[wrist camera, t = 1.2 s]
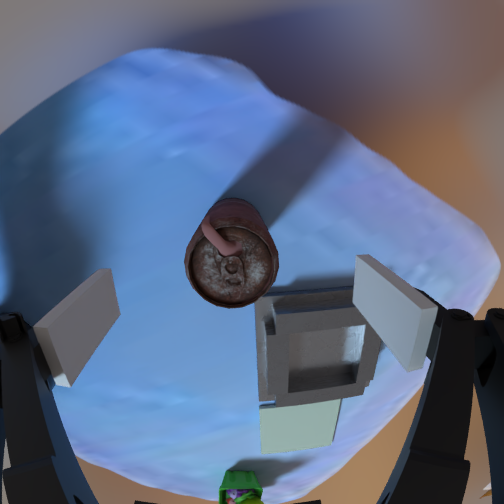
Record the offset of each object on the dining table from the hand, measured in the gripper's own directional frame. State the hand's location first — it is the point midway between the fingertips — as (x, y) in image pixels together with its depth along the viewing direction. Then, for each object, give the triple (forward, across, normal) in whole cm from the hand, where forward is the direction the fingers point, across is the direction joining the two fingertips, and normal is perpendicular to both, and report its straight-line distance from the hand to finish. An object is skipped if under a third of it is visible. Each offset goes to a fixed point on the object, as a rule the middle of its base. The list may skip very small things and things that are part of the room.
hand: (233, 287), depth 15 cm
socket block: (+17, +10, -16) cm, 25 cm away
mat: (+17, +8, -32) cm, 37 cm away
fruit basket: (+17, -2, -49) cm, 52 cm away
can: (+17, 0, 0) cm, 17 cm away
